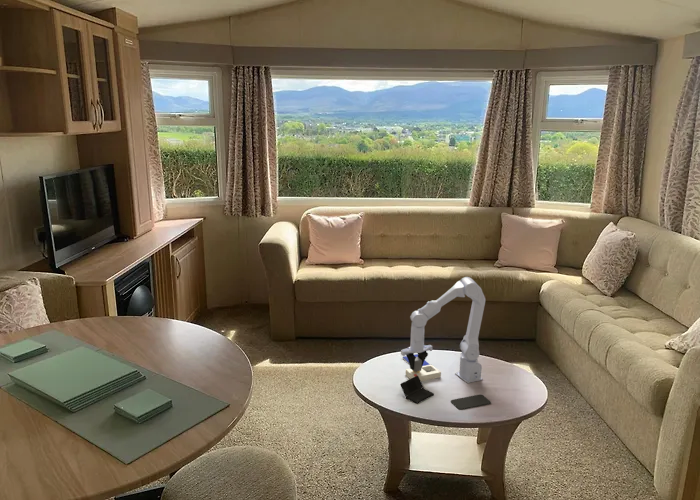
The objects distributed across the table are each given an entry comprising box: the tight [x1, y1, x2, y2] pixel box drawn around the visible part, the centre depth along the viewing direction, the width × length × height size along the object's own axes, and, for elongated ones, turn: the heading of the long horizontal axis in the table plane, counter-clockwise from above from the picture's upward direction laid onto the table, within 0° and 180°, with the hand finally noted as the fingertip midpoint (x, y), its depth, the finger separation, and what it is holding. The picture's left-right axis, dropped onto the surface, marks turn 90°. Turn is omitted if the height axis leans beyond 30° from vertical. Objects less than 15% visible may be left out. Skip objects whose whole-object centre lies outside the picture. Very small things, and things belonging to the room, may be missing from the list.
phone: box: [450, 393, 492, 411], centre depth 216 cm, size 7×1×15 cm
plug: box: [409, 357, 422, 373], centre depth 235 cm, size 3×3×6 cm
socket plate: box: [405, 364, 442, 382], centre depth 236 cm, size 8×13×3 cm, turn 114°
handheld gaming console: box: [400, 376, 435, 405], centre depth 220 cm, size 12×7×10 cm
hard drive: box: [402, 353, 431, 366], centre depth 249 cm, size 2×8×12 cm
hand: (415, 368), depth 235 cm, fingers closed on plug, 3 cm apart
